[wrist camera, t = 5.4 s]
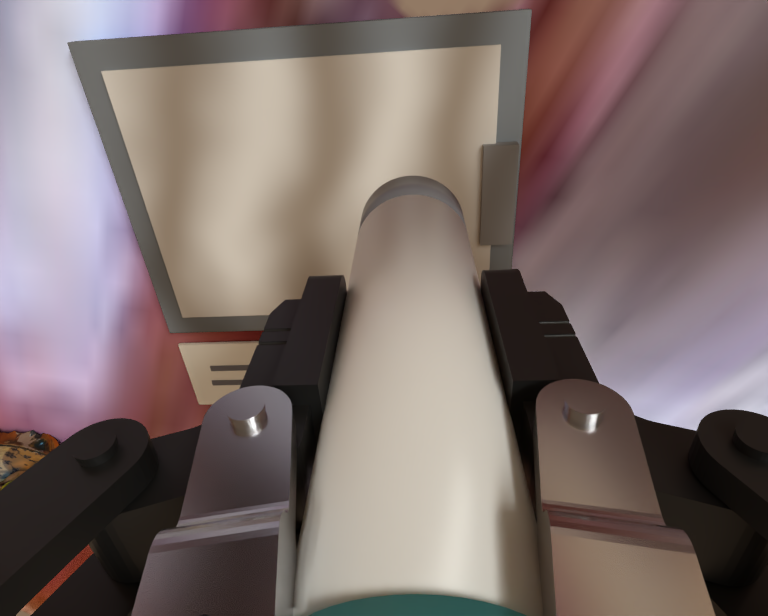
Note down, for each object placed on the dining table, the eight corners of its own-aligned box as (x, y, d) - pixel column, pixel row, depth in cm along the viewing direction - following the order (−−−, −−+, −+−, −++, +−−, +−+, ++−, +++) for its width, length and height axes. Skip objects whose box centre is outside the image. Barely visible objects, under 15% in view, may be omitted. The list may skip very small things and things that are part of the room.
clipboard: (529, 9, 21) (534, 10, 20) (505, 317, 30) (508, 329, 29) (74, 41, 23) (59, 44, 22) (173, 327, 31) (166, 338, 30)
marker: (467, 171, 14) (719, 982, 3) (464, 270, 16) (613, 1032, 4) (354, 176, 14) (147, 950, 3) (363, 274, 16) (254, 1010, 5)
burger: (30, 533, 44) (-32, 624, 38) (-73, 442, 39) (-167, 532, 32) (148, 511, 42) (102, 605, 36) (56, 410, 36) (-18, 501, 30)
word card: (179, 343, 32) (177, 345, 32) (305, 339, 31) (305, 342, 31) (200, 402, 35) (198, 405, 34) (316, 400, 34) (316, 403, 34)
